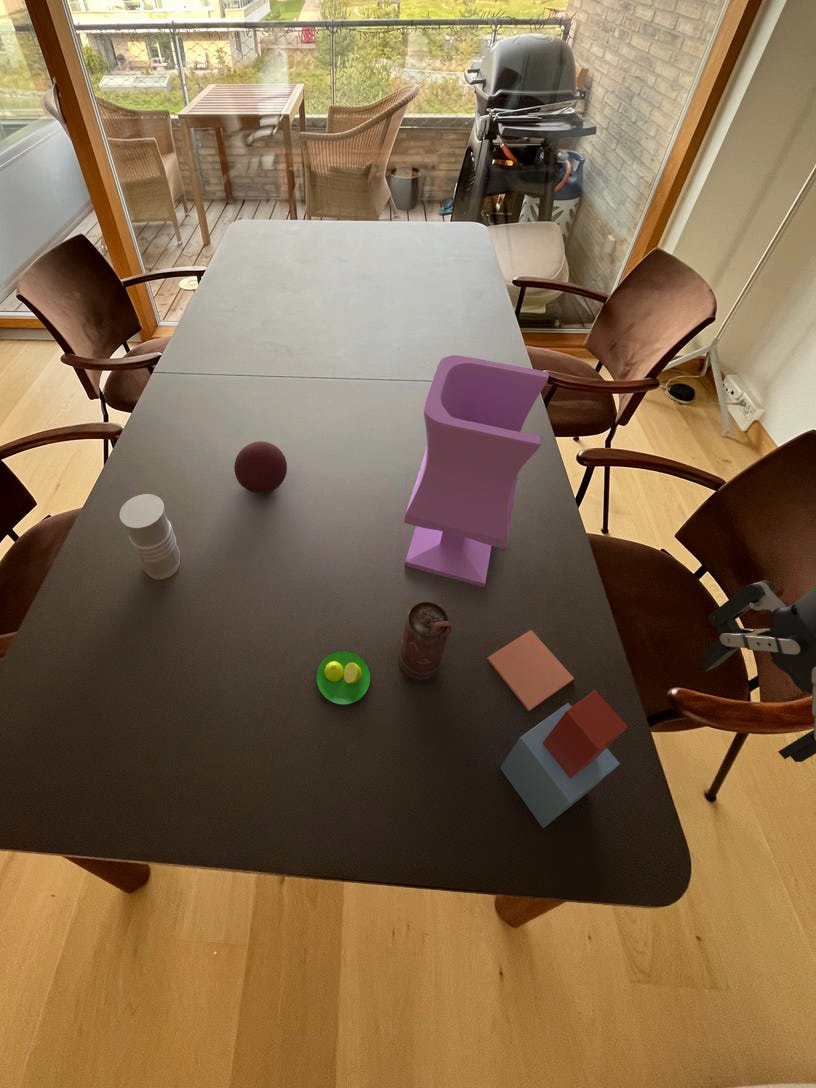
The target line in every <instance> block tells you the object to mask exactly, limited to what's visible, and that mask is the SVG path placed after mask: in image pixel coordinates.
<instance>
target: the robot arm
mask: <svg viewBox="0 0 816 1088" xmlns="http://www.w3.org/2000/svg"><path fill="white" fill-rule="evenodd" d="M774 591H775V585H774V583H772V582H771V581H770V580H767V579H766V580H765V579H764V580H760V581H758V582H754V583H751V584H747V585H746V586H745V587H743V588H742V589H741V590H739V591H738V592H737V593H736V594H735V595H733V596H732V597H731V598H729V599H728V600H727V601H726V602H724V603H723V604H721V605H720V606H719V607H717V608H716V609H715V610H713V611H712V612H711V613H710V614H709V615H708V621H709V623H710V624H711V625H712V626H714V627H716V629H717V631H718V637H717V638H716V639H715V640H714V641H713V642H712V643H711V644H710V645H709V646H707V647H706V648H705V649H704V650H703V651H702V652H701V654H700V658H701V660H702V662H701V663H700V664H699V666H700V667H701V668H702V669H703V670H704V671H705V672H708V671H710V670H713V669H715V668H717V667H718V666H720V665H722V663H723V662H725V661H726V660H727V659H728V658H730V657H731V656H732V655H733V654H735V652H737V651H738V650H740V649H747V650H749V651H756V652H757V651H759V652H768V653H769V655H770V656H771V659H770V661H771V662H772V663H773V664H774V665H775V666H776V667H777V668H778V669H780V670H781V671H783V672H784V673H785V674H786V675H788V676H789V678H790V679H791V681H792V682H793V683H794V685H795V686H796V688H798V689H799V690H800V691H801V692H802V693H805V692H806V693H808V694H809V695H811V716H813V719H814V721H813V729H812V730H811V731H809V732H807V733H805V734H804V735H802V736H801V737H799V738H798V739H796V740H794V741H792V742H791V743H790V744H788V745H786V746H785V747H782V748H781V749H779V750H778V751H777V753H778V754H779V755H780V756H781V757H782V758H783V759H784V760H786V759H788V758H791V759H792V760H793V762H795V763H803V762H804V761H806V760H807V759H809V758H811V757H813V756H814V755H816V585H815V586H814V587H813V588H811V589H809V591H808V592H806V593H804V595H803V596H801V597H800V598H799V599H798V600H796V601H795V602H794V603H792V604H787V605H786V604H785V602H783V601H782V600H781V599H780V598H779V597H778V596H777V595H776V594H775V593H774ZM750 609H752V610H754V611H757V612H758V611H762V610H768V611H770V612H771V614H770V622H769V628H743V627H740V625H739V623H738V620H737V619H738V618H741V616H743V615H744V614H745V613H746V612H748V611H749V610H750Z"/></svg>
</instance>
